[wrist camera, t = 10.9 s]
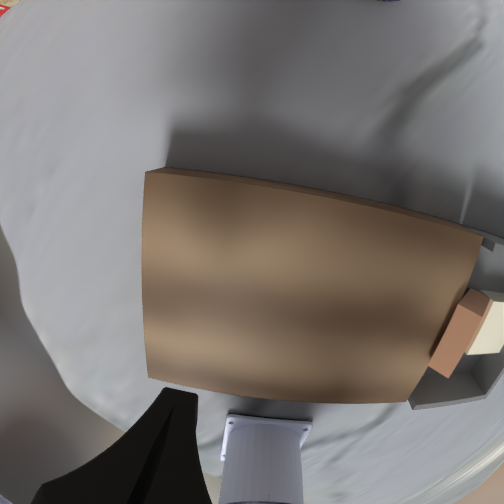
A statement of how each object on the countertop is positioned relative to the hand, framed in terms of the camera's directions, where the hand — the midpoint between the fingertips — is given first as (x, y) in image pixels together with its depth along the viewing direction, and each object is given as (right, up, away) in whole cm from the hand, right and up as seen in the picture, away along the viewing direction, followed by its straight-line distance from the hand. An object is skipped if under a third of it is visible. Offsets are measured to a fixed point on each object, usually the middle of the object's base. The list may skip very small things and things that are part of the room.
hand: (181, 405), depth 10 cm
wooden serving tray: (+7, +3, +9) cm, 11 cm away
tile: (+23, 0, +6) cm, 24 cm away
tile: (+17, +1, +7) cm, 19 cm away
